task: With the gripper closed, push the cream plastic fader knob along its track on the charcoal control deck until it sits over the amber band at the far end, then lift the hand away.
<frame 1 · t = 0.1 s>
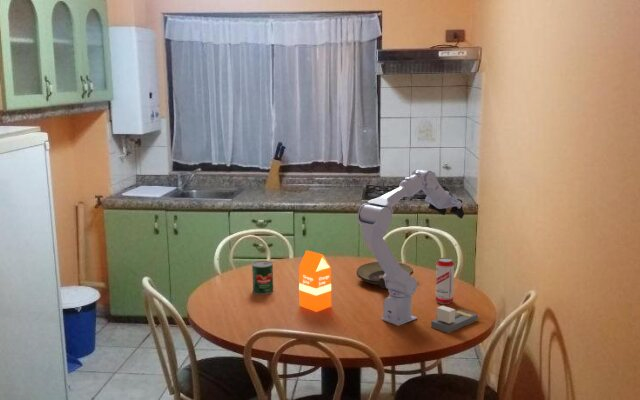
hand: (453, 214, 224), 32 cm above the table, tool tilted 50°, fingers open, 7 cm apart
fader knob: (445, 314, 204), point 4 cm above the table, slide at -5.0 cm
fader deck: (454, 323, 208), on the table
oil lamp: (381, 284, 249), on the table
beer can: (444, 302, 228), on the table
canned tomato: (263, 291, 242), on the table
orange juice: (315, 306, 225), on the table
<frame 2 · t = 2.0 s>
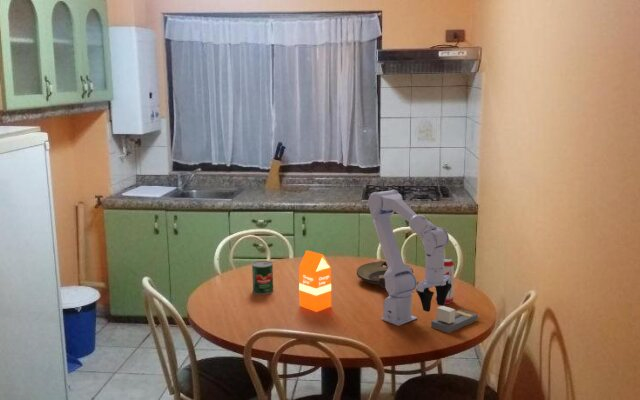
hand: (433, 308, 199), 8 cm above the table, tool pointing down, fingers open, 7 cm apart
nothing on the table moved.
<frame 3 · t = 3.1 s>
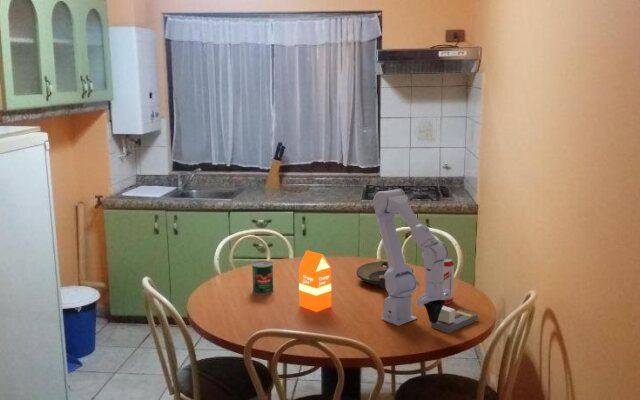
hand: (433, 321, 200), 4 cm above the table, tool pointing down, fingers closed
nothing on the table moved.
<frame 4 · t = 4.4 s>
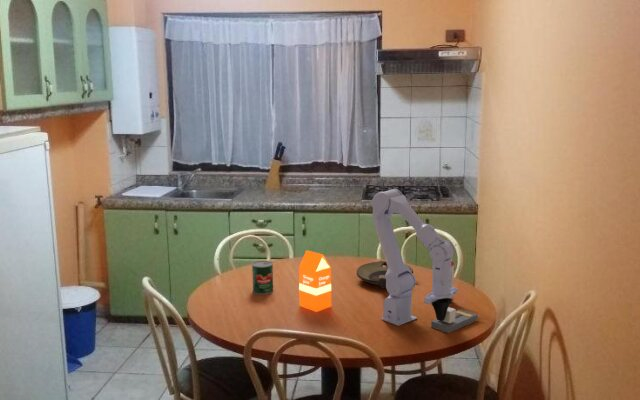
hand: (440, 319, 202), 3 cm above the table, tool pointing down, fingers closed
fader knob: (446, 314, 204), point 4 cm above the table, slide at -4.8 cm, touching gripper
everything else where it was.
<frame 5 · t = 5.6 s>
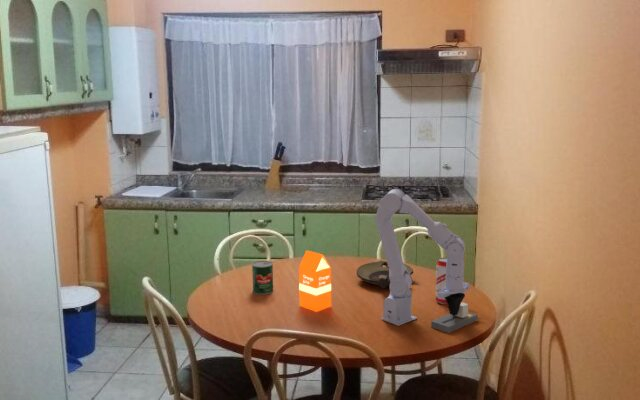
hand: (453, 314, 207), 3 cm above the table, tool pointing down, fingers closed
fader knob: (459, 309, 208), point 4 cm above the table, slide at 2.2 cm, touching gripper
everything else where it was.
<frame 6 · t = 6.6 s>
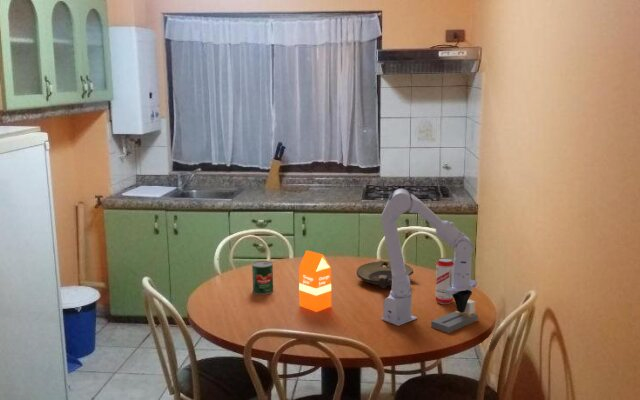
hand: (460, 311, 209), 3 cm above the table, tool pointing down, fingers closed
fader knob: (466, 306, 211), point 4 cm above the table, slide at 6.1 cm, touching gripper
everything else where it was.
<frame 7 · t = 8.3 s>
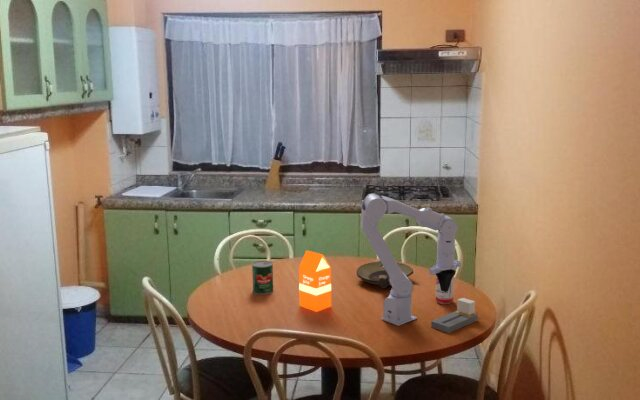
hand: (444, 290, 212), 9 cm above the table, tool pointing down, fingers closed
fader knob: (466, 306, 211), point 5 cm above the table, slide at 6.0 cm
everything else where it was.
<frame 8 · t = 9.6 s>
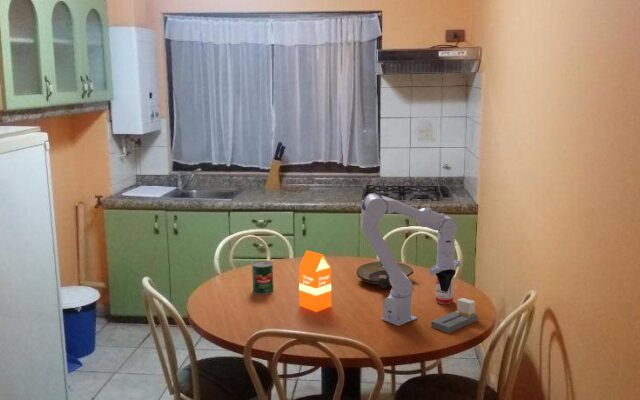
hand: (444, 290, 212), 9 cm above the table, tool pointing down, fingers closed
nothing on the table moved.
at the end: fader knob slide at 6.0 cm; beer can moved 0.2 cm from its start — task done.
